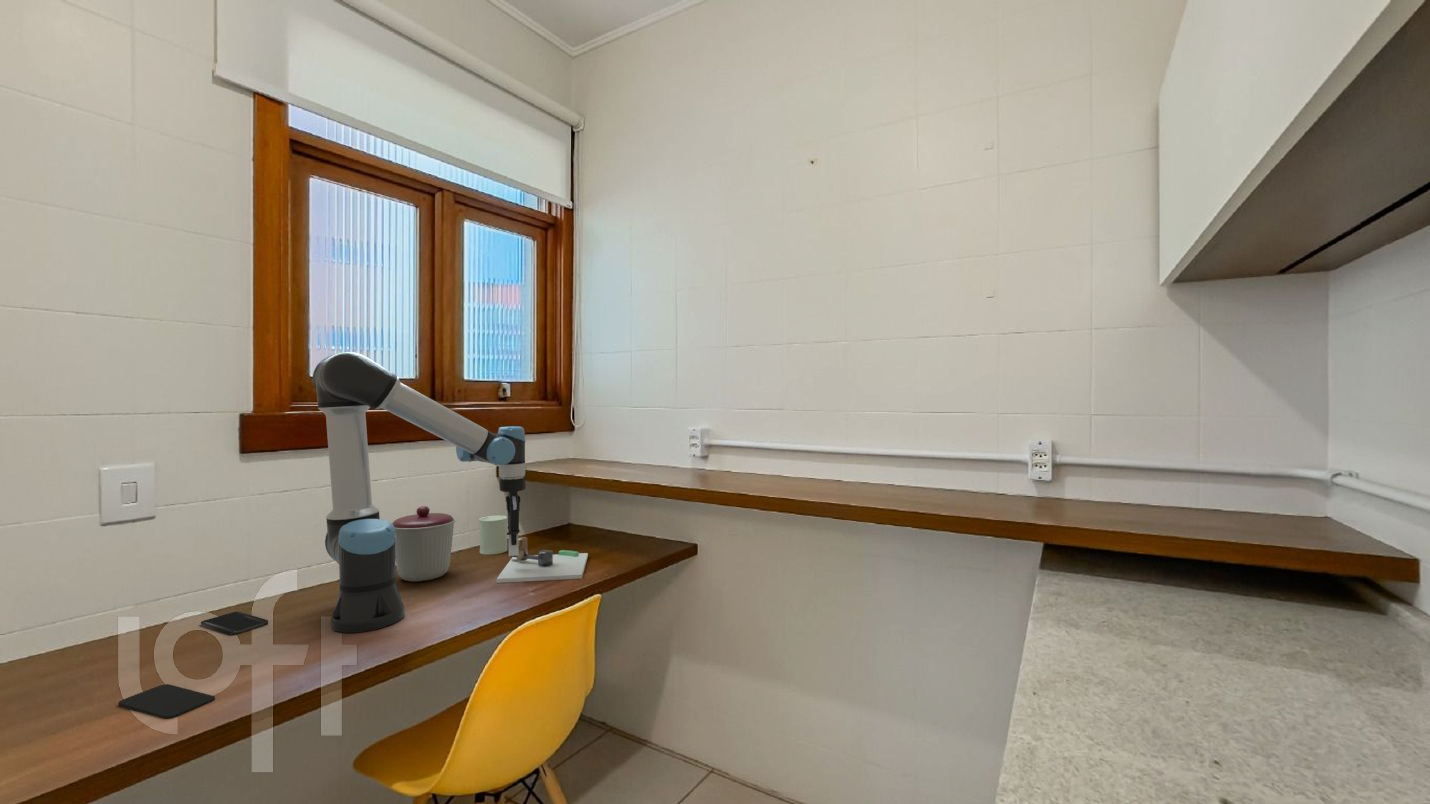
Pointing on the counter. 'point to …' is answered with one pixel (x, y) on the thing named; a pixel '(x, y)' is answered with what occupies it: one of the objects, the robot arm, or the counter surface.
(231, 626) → the phone
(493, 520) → the can
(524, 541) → the lever
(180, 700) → the phone
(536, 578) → the dial plate
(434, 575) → the canister
